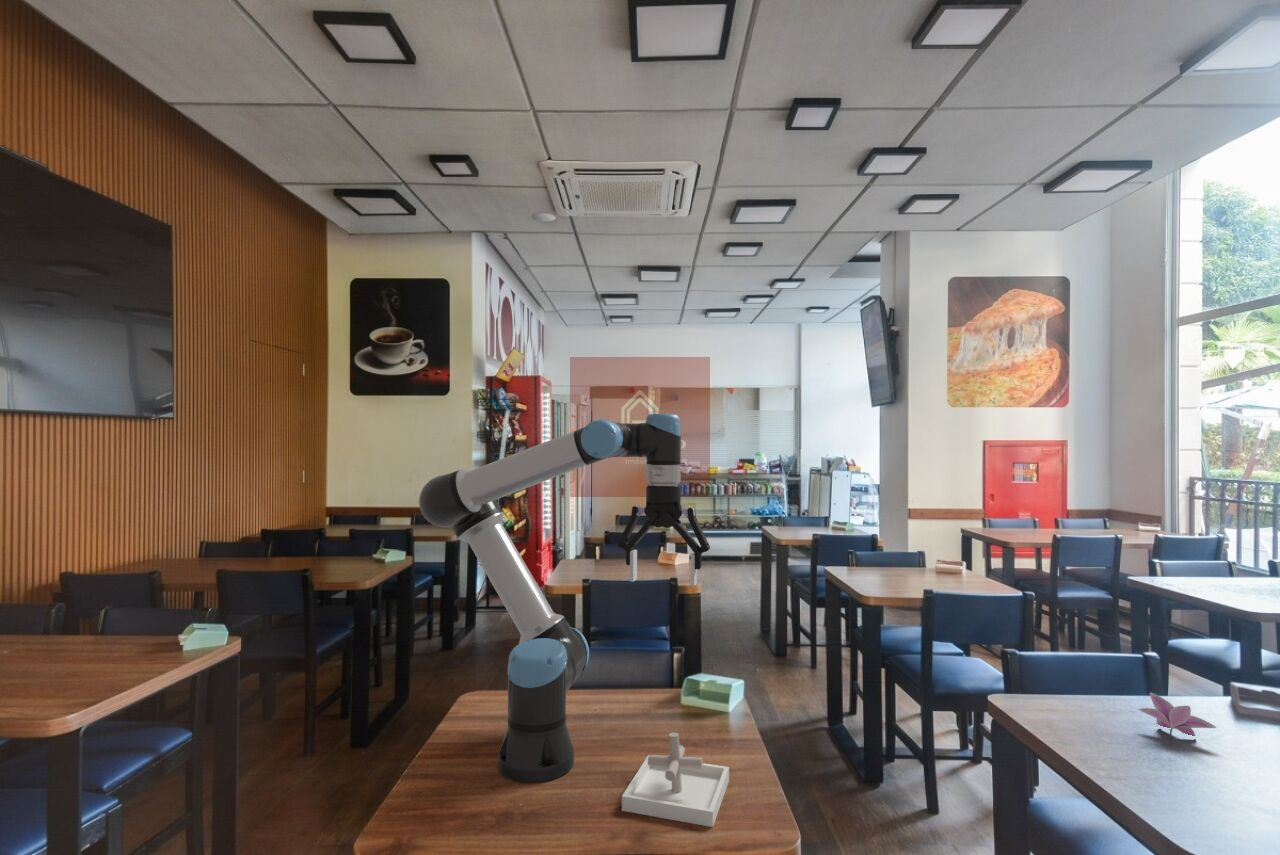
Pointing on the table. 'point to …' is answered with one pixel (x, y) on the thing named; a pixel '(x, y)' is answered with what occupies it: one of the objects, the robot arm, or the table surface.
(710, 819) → the tray
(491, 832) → the table surface
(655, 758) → the pipe connector
